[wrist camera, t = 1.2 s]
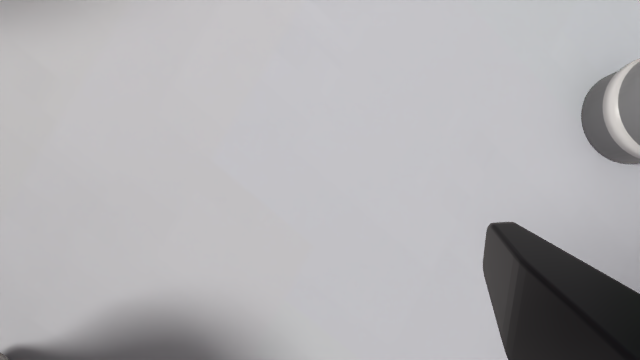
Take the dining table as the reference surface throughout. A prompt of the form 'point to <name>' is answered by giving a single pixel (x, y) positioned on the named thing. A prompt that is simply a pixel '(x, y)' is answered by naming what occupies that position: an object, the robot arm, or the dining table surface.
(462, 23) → the dining table surface
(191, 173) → the dining table surface
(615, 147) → the grey tall cylinder
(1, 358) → the light bulb
